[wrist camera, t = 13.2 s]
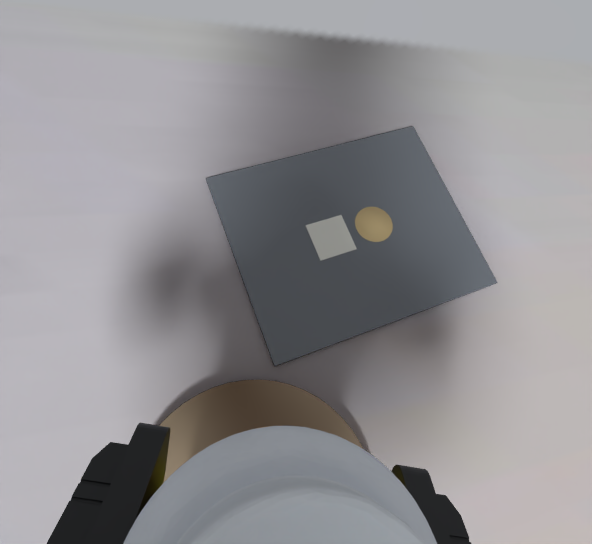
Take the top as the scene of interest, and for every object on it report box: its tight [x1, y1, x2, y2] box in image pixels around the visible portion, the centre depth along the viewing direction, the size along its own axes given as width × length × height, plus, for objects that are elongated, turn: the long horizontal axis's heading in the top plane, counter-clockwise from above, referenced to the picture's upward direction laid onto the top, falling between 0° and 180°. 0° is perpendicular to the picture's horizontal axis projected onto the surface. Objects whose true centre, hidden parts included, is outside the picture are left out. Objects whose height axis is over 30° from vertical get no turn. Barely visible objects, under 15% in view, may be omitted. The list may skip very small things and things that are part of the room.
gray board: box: [206, 126, 497, 366], centre depth 21 cm, size 11×9×1 cm
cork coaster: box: [159, 380, 363, 483], centre depth 16 cm, size 9×9×1 cm
